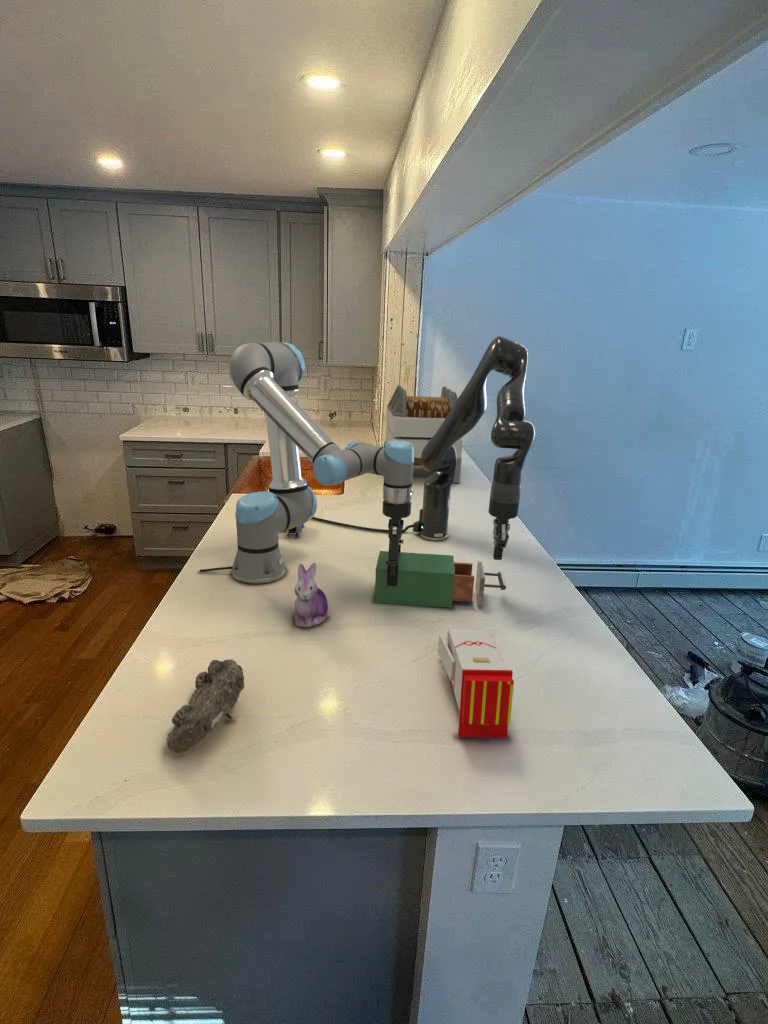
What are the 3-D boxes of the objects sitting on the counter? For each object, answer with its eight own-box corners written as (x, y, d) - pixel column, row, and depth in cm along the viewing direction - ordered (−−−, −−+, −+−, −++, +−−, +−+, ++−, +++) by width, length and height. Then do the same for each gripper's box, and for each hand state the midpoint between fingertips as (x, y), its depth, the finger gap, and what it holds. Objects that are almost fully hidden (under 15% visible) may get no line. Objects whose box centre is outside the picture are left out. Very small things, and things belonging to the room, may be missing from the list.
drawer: (500, 589, 160) (503, 562, 158) (504, 607, 151) (507, 579, 148) (411, 582, 162) (412, 557, 159) (409, 600, 152) (411, 573, 150)
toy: (488, 613, 130) (523, 677, 101) (484, 667, 133) (517, 744, 104) (435, 612, 130) (455, 676, 101) (432, 666, 133) (451, 743, 103)
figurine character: (302, 543, 191) (306, 522, 205) (301, 523, 188) (306, 503, 202) (282, 542, 191) (288, 522, 205) (281, 522, 188) (287, 503, 201)
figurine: (299, 632, 137) (299, 576, 132) (286, 613, 145) (285, 559, 140) (336, 624, 141) (336, 570, 136) (320, 605, 149) (321, 553, 144)
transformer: (382, 463, 289) (386, 382, 275) (445, 464, 293) (451, 384, 279) (390, 482, 257) (394, 392, 243) (460, 483, 261) (468, 394, 247)
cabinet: (450, 587, 162) (453, 555, 159) (452, 608, 151) (454, 573, 148) (378, 582, 164) (379, 550, 160) (374, 602, 153) (375, 568, 149)
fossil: (192, 660, 117) (244, 628, 112) (224, 691, 120) (276, 661, 115) (142, 746, 98) (202, 712, 93) (182, 779, 101) (242, 748, 96)
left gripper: (409, 516, 137) (405, 596, 144) (413, 487, 160) (408, 558, 167) (378, 514, 138) (375, 594, 145) (386, 486, 160) (383, 556, 167)
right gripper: (523, 506, 139) (514, 570, 145) (516, 490, 152) (508, 550, 158) (492, 504, 140) (485, 568, 146) (487, 488, 152) (481, 548, 158)
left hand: (393, 575), depth 156 cm, fingers closed on cabinet, 12 cm apart
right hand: (497, 558), depth 152 cm, fingers closed
